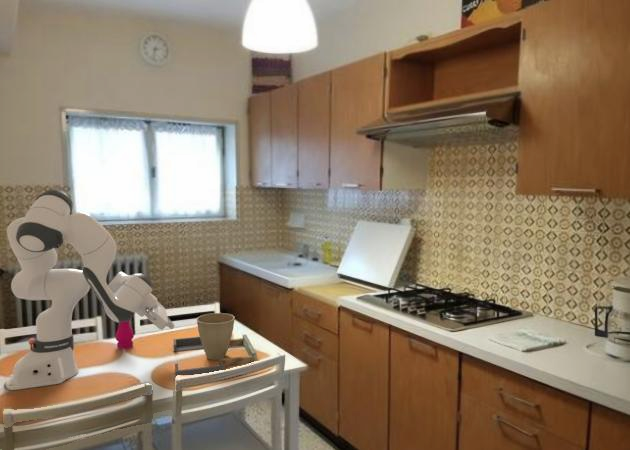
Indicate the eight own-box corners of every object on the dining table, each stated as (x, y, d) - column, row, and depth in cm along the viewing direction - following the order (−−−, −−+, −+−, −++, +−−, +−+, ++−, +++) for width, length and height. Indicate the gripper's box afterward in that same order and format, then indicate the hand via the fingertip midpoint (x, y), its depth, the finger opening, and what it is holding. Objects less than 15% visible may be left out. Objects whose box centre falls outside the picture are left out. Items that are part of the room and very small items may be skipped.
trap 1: (173, 351, 190) (173, 344, 190) (173, 345, 198) (173, 339, 197) (215, 347, 196) (215, 340, 195) (213, 341, 203) (213, 335, 203)
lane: (222, 367, 174) (221, 356, 174) (215, 346, 197) (215, 337, 196) (256, 362, 179) (256, 352, 178) (246, 343, 201) (246, 334, 200)
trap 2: (175, 379, 163) (175, 371, 163) (175, 371, 170) (175, 363, 170) (224, 373, 168) (224, 365, 168) (221, 366, 175) (221, 358, 175)
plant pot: (209, 366, 175) (208, 325, 173) (190, 356, 186) (189, 317, 184) (242, 356, 185) (242, 318, 184) (222, 347, 196) (222, 310, 194)
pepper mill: (129, 349, 193) (128, 302, 192) (112, 349, 194) (111, 302, 192) (136, 343, 201) (135, 298, 199) (120, 343, 201) (118, 298, 199)
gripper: (152, 305, 167) (181, 328, 172) (151, 292, 187) (177, 313, 191) (139, 319, 166) (168, 341, 171) (140, 304, 185) (166, 325, 190)
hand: (173, 326), depth 181 cm, fingers closed
